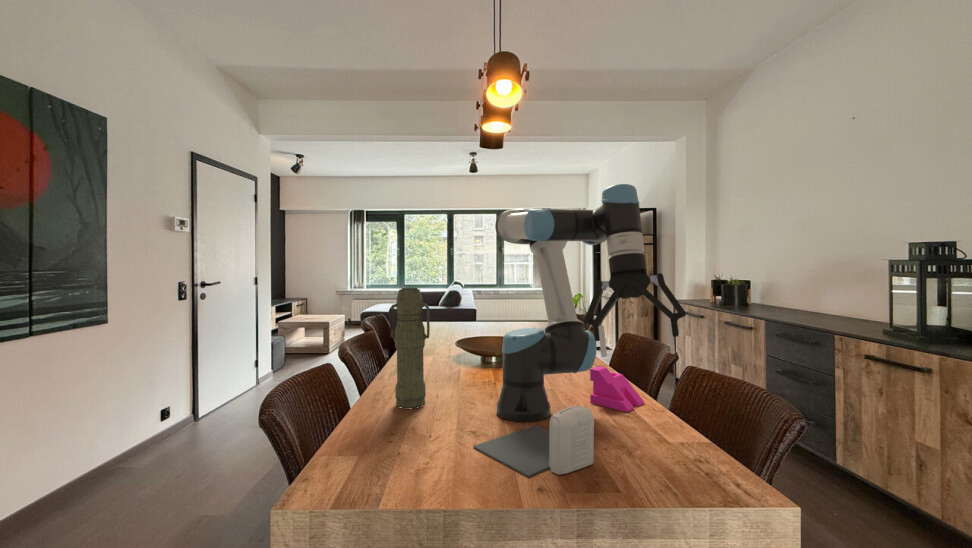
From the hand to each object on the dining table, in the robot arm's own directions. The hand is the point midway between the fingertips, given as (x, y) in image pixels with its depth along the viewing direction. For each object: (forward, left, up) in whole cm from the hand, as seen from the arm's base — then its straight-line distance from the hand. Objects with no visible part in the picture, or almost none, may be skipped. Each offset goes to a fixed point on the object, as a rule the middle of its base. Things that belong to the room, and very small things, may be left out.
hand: (637, 355), depth 90 cm
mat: (-19, -11, -23) cm, 32 cm away
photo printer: (-8, -11, -23) cm, 27 cm away
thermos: (-65, -17, -23) cm, 71 cm away
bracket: (-26, +31, -23) cm, 47 cm away
